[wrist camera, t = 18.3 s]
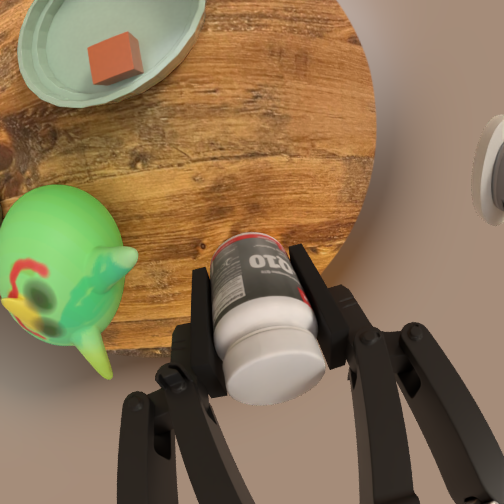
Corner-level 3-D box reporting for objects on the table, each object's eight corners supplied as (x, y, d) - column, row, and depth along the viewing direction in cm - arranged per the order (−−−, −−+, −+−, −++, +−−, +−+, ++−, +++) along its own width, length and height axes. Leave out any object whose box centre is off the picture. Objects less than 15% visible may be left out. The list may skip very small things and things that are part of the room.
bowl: (189, -61, 12) (188, -81, 8) (223, 70, 23) (226, 63, 19) (35, 5, 12) (14, -3, 8) (58, 133, 22) (35, 141, 18)
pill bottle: (301, 254, 17) (358, 361, 10) (254, 304, 19) (281, 414, 12) (240, 214, 15) (274, 328, 8) (194, 274, 17) (195, 396, 10)
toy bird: (37, 156, 23) (-45, 204, 10) (162, 191, 28) (132, 267, 16) (33, 275, 30) (-10, 348, 18) (132, 308, 36) (115, 397, 24)
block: (138, 39, 19) (127, 31, 15) (144, 73, 21) (134, 68, 17) (101, 53, 18) (86, 47, 15) (107, 86, 21) (92, 84, 17)
